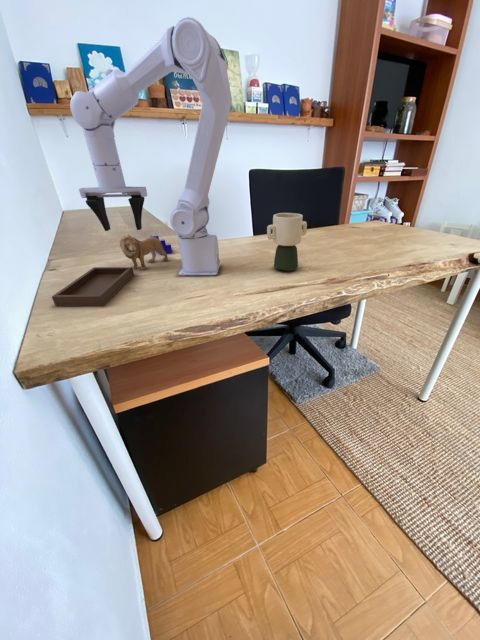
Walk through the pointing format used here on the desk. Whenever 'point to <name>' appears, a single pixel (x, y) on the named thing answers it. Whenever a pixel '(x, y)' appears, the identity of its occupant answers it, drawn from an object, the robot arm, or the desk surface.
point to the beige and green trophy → (286, 239)
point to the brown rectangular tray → (94, 287)
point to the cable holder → (164, 245)
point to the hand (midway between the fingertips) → (123, 229)
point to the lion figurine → (141, 249)
